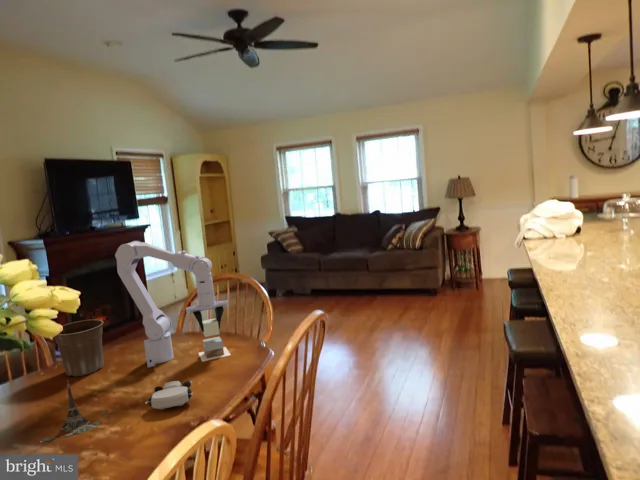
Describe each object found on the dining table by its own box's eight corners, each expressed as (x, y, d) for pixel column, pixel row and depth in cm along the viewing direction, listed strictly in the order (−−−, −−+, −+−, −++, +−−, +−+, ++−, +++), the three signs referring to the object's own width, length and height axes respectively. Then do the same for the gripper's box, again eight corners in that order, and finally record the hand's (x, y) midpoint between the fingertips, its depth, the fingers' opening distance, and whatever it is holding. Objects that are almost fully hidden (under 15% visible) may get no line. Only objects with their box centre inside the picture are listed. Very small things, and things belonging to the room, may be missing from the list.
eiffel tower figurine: (38, 446, 117) (29, 395, 115) (46, 427, 126) (38, 380, 124) (103, 429, 122) (95, 381, 120) (106, 412, 131) (99, 367, 129)
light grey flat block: (206, 351, 162) (205, 344, 162) (203, 346, 167) (202, 339, 167) (223, 347, 164) (222, 340, 164) (220, 342, 170) (219, 336, 169)
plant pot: (115, 368, 163) (107, 324, 161) (63, 384, 154) (55, 337, 152) (104, 357, 176) (97, 316, 174) (56, 371, 167) (48, 328, 165)
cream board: (202, 363, 160) (202, 361, 160) (198, 354, 169) (198, 352, 169) (231, 357, 163) (230, 354, 163) (225, 348, 173) (225, 346, 173)
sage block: (205, 337, 162) (203, 324, 161) (203, 333, 166) (201, 321, 166) (219, 333, 163) (217, 321, 163) (217, 330, 168) (215, 318, 168)
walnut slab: (207, 358, 162) (206, 351, 162) (204, 353, 168) (203, 346, 167) (224, 354, 164) (223, 347, 164) (221, 349, 170) (220, 342, 170)
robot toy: (153, 397, 139) (146, 417, 124) (151, 383, 139) (144, 401, 124) (195, 389, 142) (193, 408, 127) (193, 375, 142) (191, 392, 127)
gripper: (185, 298, 157) (191, 336, 158) (228, 290, 162) (233, 328, 164) (183, 294, 163) (188, 331, 165) (224, 287, 168) (229, 323, 170)
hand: (210, 329), depth 165 cm, fingers closed on sage block, 5 cm apart
